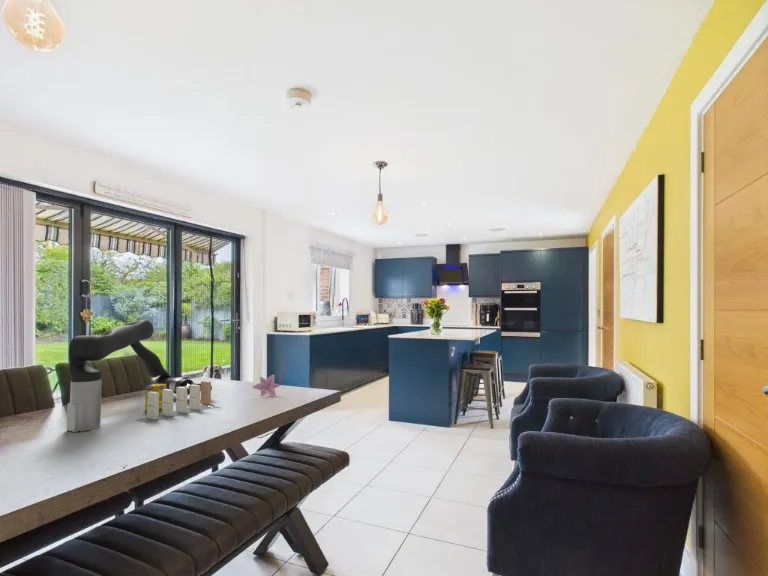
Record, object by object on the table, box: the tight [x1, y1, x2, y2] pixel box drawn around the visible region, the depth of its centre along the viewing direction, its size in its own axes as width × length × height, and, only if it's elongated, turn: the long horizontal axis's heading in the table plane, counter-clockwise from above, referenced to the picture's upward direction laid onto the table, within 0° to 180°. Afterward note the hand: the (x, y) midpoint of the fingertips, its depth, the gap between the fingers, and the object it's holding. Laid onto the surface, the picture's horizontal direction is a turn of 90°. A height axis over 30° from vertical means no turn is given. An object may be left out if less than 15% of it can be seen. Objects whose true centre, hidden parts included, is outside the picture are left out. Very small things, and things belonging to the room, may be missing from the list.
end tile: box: [146, 391, 159, 420], centre depth 166 cm, size 2×5×10 cm, turn 58°
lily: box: [251, 374, 281, 397], centre depth 210 cm, size 12×12×10 cm
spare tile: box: [200, 380, 212, 405], centre depth 193 cm, size 2×5×10 cm, turn 58°
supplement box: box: [144, 384, 166, 413], centre depth 179 cm, size 6×6×11 cm
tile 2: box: [188, 384, 201, 410], centre depth 181 cm, size 2×5×10 cm, turn 58°
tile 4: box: [161, 389, 174, 416], centre depth 171 cm, size 2×5×10 cm, turn 58°
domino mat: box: [135, 404, 215, 424], centre depth 175 cm, size 31×9×1 cm, turn 148°
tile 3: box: [175, 387, 188, 413], centre depth 176 cm, size 2×5×10 cm, turn 58°
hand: (202, 389), depth 194 cm, fingers open, 8 cm apart
